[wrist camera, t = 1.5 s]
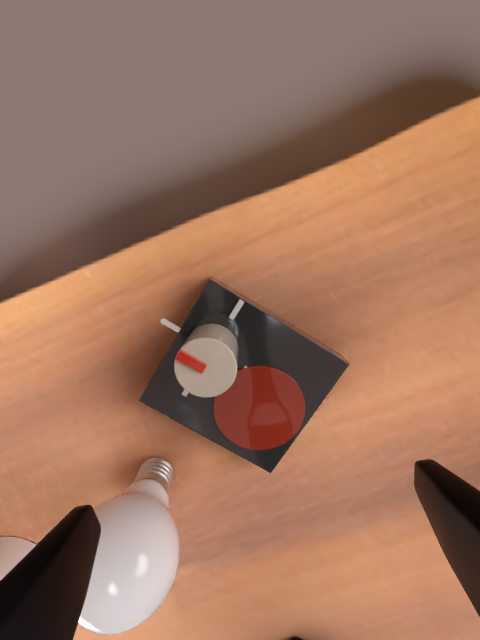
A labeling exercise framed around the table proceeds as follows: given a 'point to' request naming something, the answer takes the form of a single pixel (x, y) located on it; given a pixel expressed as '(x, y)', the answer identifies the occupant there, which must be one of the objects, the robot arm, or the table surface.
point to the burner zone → (260, 408)
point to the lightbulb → (133, 554)
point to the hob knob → (207, 361)
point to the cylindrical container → (12, 553)
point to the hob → (244, 365)
